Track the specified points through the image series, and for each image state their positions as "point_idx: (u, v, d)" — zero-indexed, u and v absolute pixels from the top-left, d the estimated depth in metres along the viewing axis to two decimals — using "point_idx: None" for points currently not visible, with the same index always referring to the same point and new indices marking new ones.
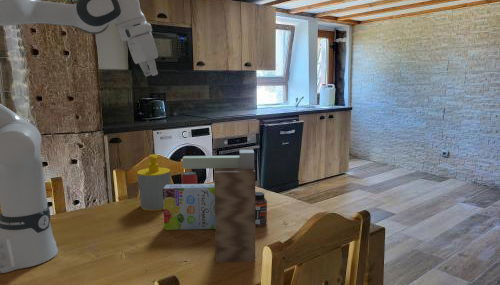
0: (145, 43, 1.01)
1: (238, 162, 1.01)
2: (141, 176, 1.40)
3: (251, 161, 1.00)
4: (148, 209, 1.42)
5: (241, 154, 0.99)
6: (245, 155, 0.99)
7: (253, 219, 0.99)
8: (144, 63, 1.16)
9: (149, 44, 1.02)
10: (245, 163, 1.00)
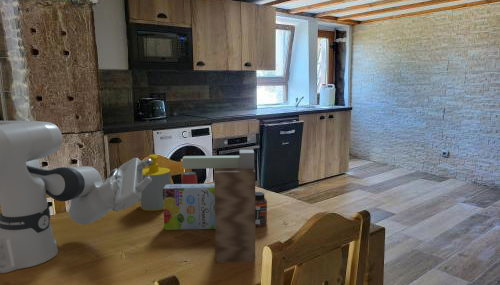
0: None
1: (238, 162, 1.01)
2: None
3: (251, 161, 1.00)
4: (148, 209, 1.42)
5: (241, 154, 0.99)
6: (245, 155, 0.99)
7: (253, 219, 0.99)
8: None
9: None
10: (245, 163, 1.00)
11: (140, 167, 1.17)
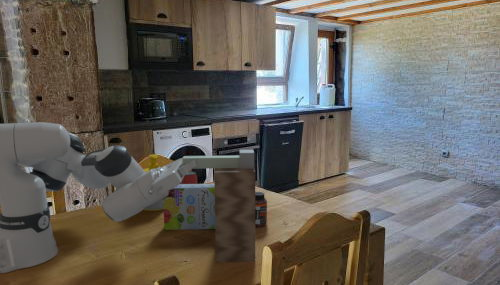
0: None
1: (238, 162, 1.01)
2: None
3: (251, 161, 1.00)
4: (148, 209, 1.42)
5: (241, 154, 0.99)
6: (245, 155, 0.99)
7: (253, 219, 0.99)
8: None
9: None
10: (245, 163, 1.00)
11: None
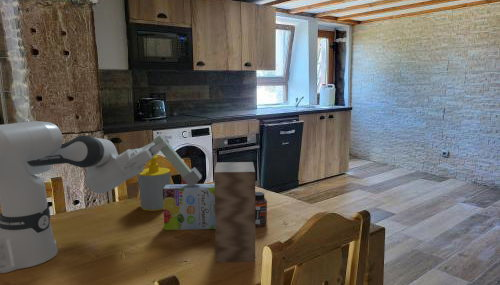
0: None
1: (185, 174, 1.21)
2: (141, 176, 1.40)
3: (193, 182, 1.20)
4: (148, 209, 1.42)
5: (192, 172, 1.20)
6: (194, 175, 1.20)
7: (253, 219, 0.99)
8: None
9: None
10: (189, 179, 1.20)
11: None
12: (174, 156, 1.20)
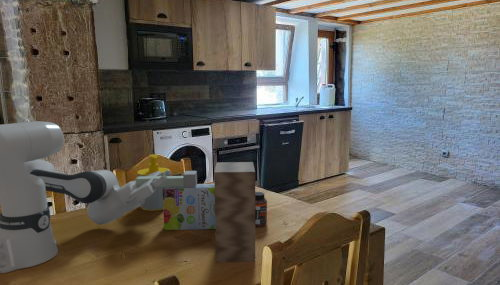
0: None
1: (182, 182, 1.21)
2: None
3: (193, 181, 1.20)
4: (148, 209, 1.42)
5: (184, 175, 1.20)
6: (188, 176, 1.20)
7: (253, 219, 0.99)
8: None
9: None
10: (188, 183, 1.20)
11: None
12: None
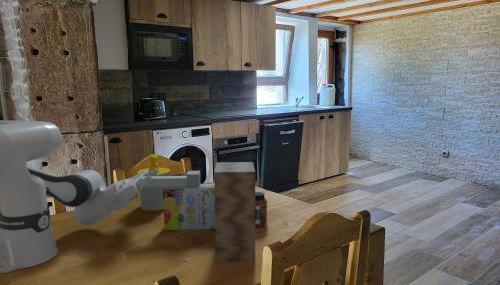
0: None
1: (186, 182, 1.21)
2: None
3: (196, 181, 1.20)
4: (148, 209, 1.42)
5: (188, 175, 1.20)
6: (191, 176, 1.20)
7: (253, 219, 0.99)
8: None
9: None
10: (192, 183, 1.20)
11: None
12: (165, 180, 1.21)
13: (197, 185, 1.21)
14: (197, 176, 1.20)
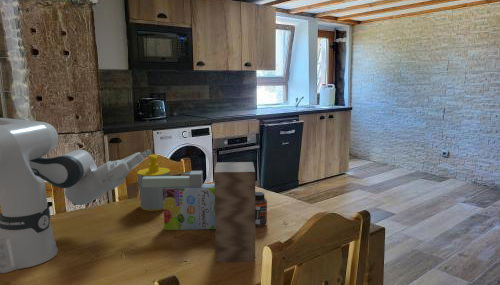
0: None
1: (188, 182, 1.21)
2: (141, 176, 1.40)
3: (199, 181, 1.20)
4: (148, 209, 1.42)
5: (190, 175, 1.20)
6: (194, 176, 1.20)
7: (253, 219, 0.99)
8: None
9: None
10: (194, 183, 1.20)
11: None
12: (167, 180, 1.21)
13: (199, 185, 1.21)
14: (199, 176, 1.20)
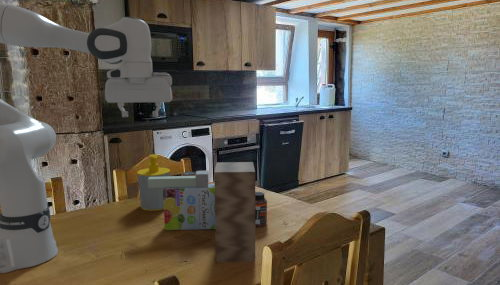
0: None
1: (195, 182, 1.21)
2: (141, 176, 1.40)
3: (205, 181, 1.21)
4: (148, 209, 1.42)
5: (197, 175, 1.20)
6: (200, 176, 1.20)
7: (253, 219, 0.99)
8: None
9: None
10: (200, 182, 1.21)
11: (122, 102, 1.12)
12: (173, 180, 1.21)
13: (206, 185, 1.21)
14: (206, 176, 1.20)
